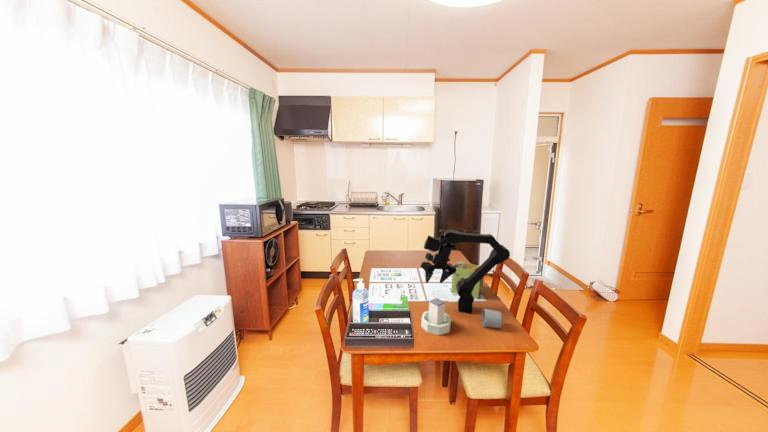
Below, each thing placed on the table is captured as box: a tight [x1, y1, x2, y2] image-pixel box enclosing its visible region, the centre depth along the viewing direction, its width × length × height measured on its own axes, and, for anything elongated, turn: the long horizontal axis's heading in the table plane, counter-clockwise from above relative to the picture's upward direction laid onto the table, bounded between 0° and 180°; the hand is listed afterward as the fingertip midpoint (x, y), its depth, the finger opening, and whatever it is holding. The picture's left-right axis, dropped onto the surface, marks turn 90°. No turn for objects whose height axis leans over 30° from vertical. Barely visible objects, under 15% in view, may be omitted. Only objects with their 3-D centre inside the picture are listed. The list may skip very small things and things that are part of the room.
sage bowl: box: [420, 310, 452, 336], centre depth 119 cm, size 13×13×4 cm
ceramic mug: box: [481, 308, 505, 329], centre depth 121 cm, size 11×8×8 cm
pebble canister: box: [428, 297, 446, 325], centre depth 119 cm, size 5×5×11 cm
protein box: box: [451, 261, 485, 300], centre depth 151 cm, size 10×15×16 cm
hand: (433, 282), depth 133 cm, fingers open, 9 cm apart
